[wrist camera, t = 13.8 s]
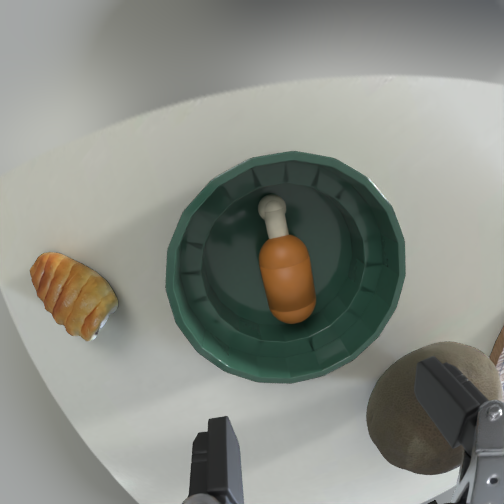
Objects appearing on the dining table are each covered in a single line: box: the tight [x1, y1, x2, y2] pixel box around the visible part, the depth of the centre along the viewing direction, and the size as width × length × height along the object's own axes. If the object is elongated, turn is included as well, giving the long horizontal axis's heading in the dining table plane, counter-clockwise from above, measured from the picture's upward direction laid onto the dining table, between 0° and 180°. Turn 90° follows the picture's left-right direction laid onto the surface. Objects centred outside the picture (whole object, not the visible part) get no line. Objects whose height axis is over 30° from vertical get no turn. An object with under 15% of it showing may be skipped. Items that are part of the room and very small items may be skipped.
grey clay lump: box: [366, 342, 503, 475], centre depth 25 cm, size 14×14×15 cm
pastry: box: [30, 252, 118, 341], centre depth 25 cm, size 9×7×4 cm
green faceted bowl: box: [165, 151, 406, 384], centre depth 24 cm, size 17×17×6 cm
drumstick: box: [258, 194, 316, 324], centre depth 25 cm, size 11×4×4 cm, turn 12°
